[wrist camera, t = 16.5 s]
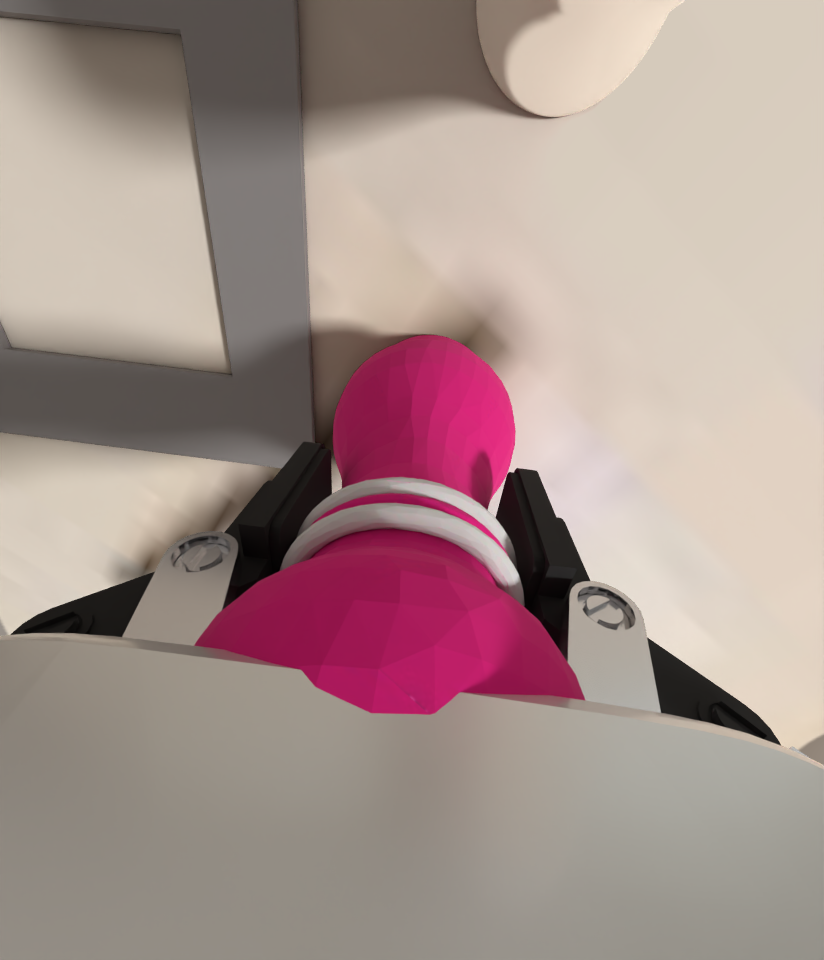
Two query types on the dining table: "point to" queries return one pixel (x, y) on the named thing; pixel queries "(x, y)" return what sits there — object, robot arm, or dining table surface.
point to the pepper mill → (406, 550)
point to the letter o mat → (237, 251)
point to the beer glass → (566, 48)
